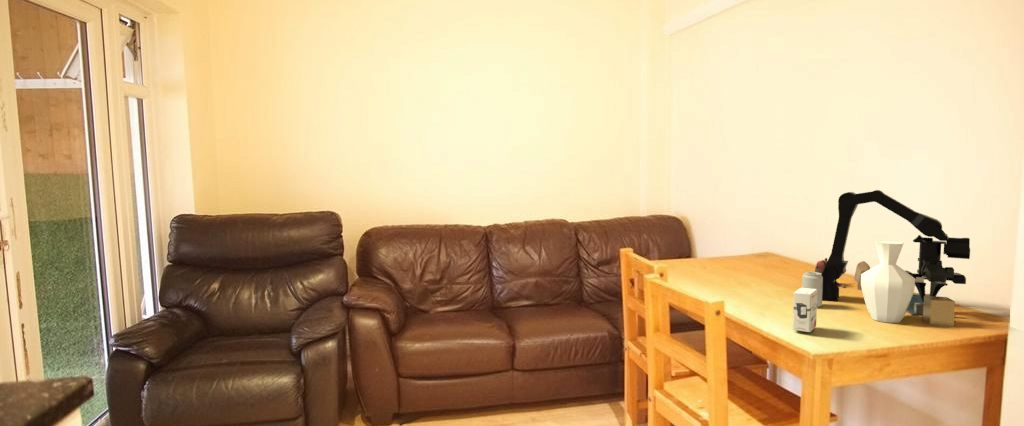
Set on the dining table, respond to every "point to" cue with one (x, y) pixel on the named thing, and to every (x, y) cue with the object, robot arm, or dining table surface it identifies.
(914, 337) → the dining table surface
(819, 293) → the beverage can
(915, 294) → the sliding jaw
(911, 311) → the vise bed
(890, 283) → the vase
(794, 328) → the ink box
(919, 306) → the fixed jaw
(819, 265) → the stuffed fox
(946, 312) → the block
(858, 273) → the stone
